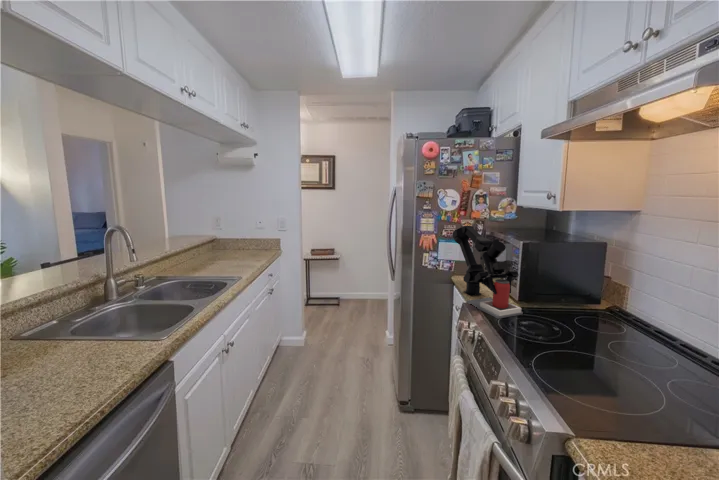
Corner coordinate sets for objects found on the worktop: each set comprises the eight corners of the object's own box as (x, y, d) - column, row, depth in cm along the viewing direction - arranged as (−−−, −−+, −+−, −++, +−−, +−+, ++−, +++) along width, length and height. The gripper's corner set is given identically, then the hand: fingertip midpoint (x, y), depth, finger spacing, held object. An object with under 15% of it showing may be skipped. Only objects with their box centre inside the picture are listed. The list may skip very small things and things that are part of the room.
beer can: (503, 310, 138) (506, 284, 136) (489, 306, 143) (491, 280, 141) (510, 307, 142) (513, 281, 140) (496, 302, 147) (498, 277, 145)
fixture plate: (466, 302, 153) (466, 296, 153) (489, 299, 158) (489, 293, 158) (497, 318, 135) (498, 311, 134) (522, 314, 140) (523, 307, 139)
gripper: (480, 254, 141) (491, 286, 132) (518, 253, 144) (532, 284, 135) (470, 267, 150) (480, 297, 141) (506, 265, 153) (518, 295, 144)
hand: (503, 293), depth 140 cm, fingers closed on beer can, 6 cm apart
